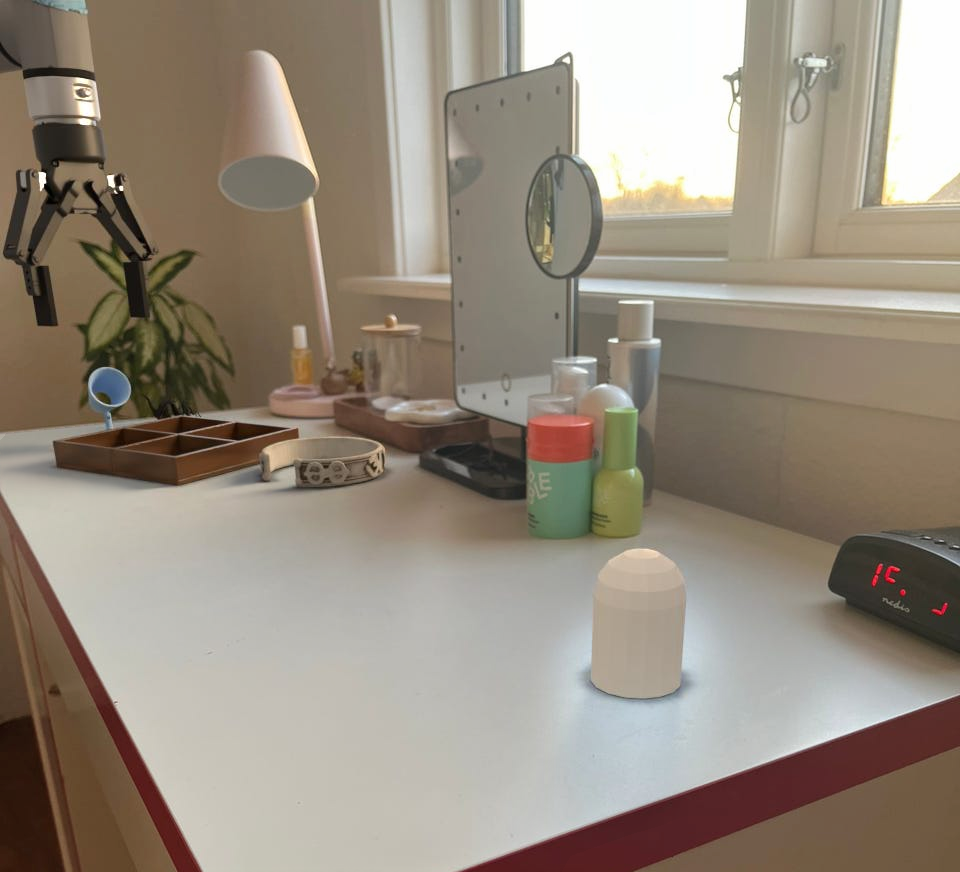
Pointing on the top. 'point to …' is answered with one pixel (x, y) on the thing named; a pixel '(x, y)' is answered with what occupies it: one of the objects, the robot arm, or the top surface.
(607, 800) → the top surface
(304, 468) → the bracelet
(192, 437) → the tray
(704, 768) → the top surface
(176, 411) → the creature
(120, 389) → the spotlight
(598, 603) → the cream domed cylinder
